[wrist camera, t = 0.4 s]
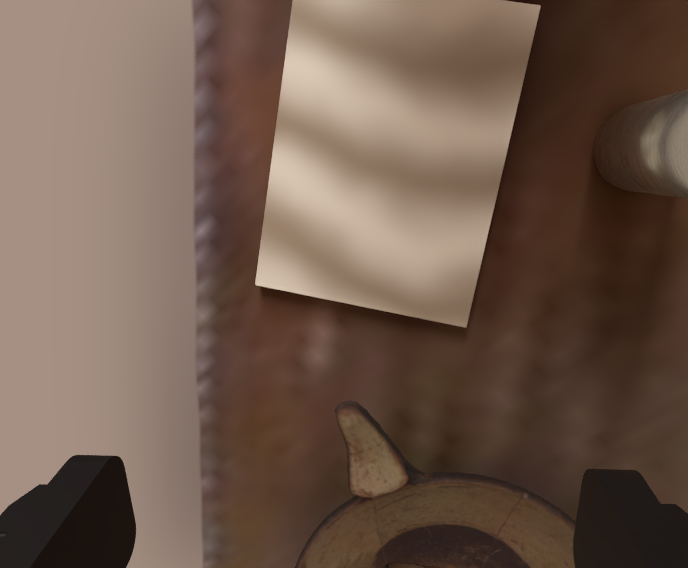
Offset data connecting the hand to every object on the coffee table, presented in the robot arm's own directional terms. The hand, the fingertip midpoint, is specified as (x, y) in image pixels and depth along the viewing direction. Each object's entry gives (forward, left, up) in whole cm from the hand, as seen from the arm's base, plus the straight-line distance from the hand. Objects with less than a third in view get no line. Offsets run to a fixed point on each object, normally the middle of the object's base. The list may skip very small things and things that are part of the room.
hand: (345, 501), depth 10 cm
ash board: (-6, -2, -27) cm, 28 cm away
